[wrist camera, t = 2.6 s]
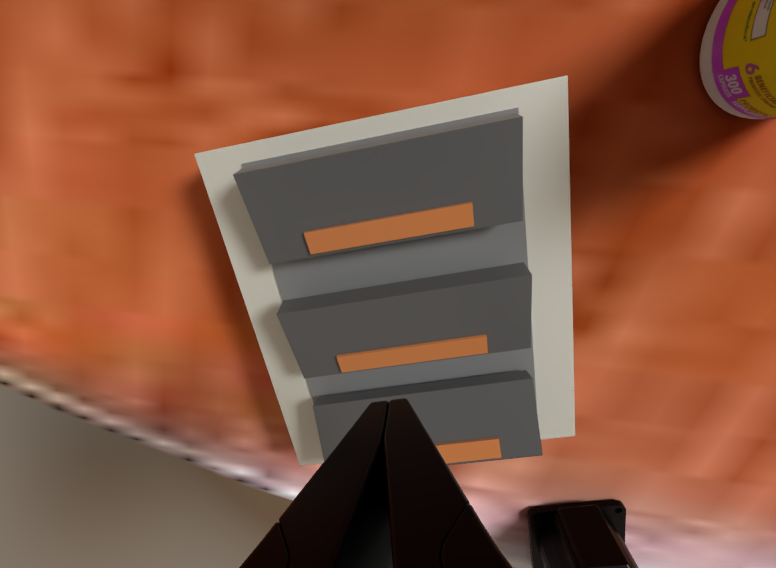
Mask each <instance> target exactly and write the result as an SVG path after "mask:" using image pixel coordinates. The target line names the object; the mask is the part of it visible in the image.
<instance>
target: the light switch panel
mask: <svg viewBox="0 0 776 568" xmlns="http://www.w3.org/2000/svg"><path fill="white" fill-rule="evenodd" d="M511 113H516V114H518V115H520V116H523V221H520V222H514V223H508V224H502V225H496V226H490V227H485V228H479V229H473V230H467V231H461V232H455V233H450V234H444V235H438V236H432V237H426V238H420V239H414V240H409V241H403V242H397V243H391V244H385V245H379V246H374V247H368V248H362V249H356V250H350V251H344V252H339V253H333V254H327V255H321V256H315V257H309V258H304V259H298V260H292V261H286V262H280V263H274V264H269V262H268V259H267V257H266V254H265V252H264V250H263V247H262V245H261V242H260V240H259V237H258V235H257V233H256V230H255V228H254V225H253V223H252V220H251V218H250V215H249V213H248V211H247V208H246V206H245V203H244V201H243V198H242V196H241V194H240V191H239V189H238V186H237V184H236V181H235V179H234V176H233V174H235V173H236V172H238V171H239V170H240V169H242V168H244V167H249V166H254V165H259V164H264V163H269V162H274V161H279V160H284V159H289V158H294V157H299V156H303V155H308V154H313V153H318V152H323V151H328V150H333V149H338V148H343V147H348V146H353V145H358V144H363V143H368V142H373V141H378V140H382V139H387V138H392V137H397V136H402V135H407V134H412V133H417V132H422V131H427V130H432V129H437V128H442V127H447V126H452V125H456V124H461V123H466V122H471V121H476V120H481V119H486V118H491V117H496V116H501V115H506V114H511ZM195 157H196V160H197V163H198V166H199V169H200V172H201V175H202V178H203V181H204V184H205V187H206V190H207V193H208V196H209V199H210V202H211V204H212V207H213V210H214V213H215V216H216V219H217V222H218V225H219V228H220V231H221V234H222V237H223V240H224V243H225V246H226V249H227V252H228V255H229V258H230V260H231V263H232V266H233V269H234V272H235V275H236V278H237V281H238V284H239V287H240V290H241V293H242V296H243V299H244V302H245V305H246V308H247V311H248V313H249V316H250V319H251V322H252V325H253V328H254V331H255V334H256V337H257V340H258V343H259V346H260V349H261V352H262V355H263V358H264V361H265V364H266V366H267V369H268V372H269V375H270V378H271V381H272V384H273V387H274V390H275V393H276V396H277V399H278V402H279V405H280V408H281V411H282V414H283V417H284V419H285V422H286V425H287V428H288V431H289V434H290V437H291V440H292V443H293V446H294V449H295V452H296V455H297V458H298V461H299V464H300V466H301V465H310V464H320V463H324V459H323V454H322V449H321V444H320V439H319V434H318V429H317V425H316V420H315V415H314V410H313V405H314V403H315V402H316V400H317V398H318V397H320V396H328V395H335V394H343V393H351V392H359V391H367V390H374V389H382V388H390V387H398V386H405V385H413V384H421V383H429V382H437V381H444V380H452V379H460V378H468V377H475V376H483V375H491V374H499V373H506V372H514V371H522V370H526V371H527V372H528V373H529V374H530V376H531V377H532V378H533V384H534V392H535V400H536V408H537V416H538V423H539V431H540V439H550V438H559V437H569V436H575V406H574V357H573V308H572V260H571V211H570V162H569V113H568V75H567V76H562V77H557V78H553V79H548V80H543V81H538V82H534V83H529V84H524V85H519V86H515V87H510V88H505V89H500V90H496V91H491V92H486V93H481V94H477V95H472V96H467V97H462V98H458V99H453V100H448V101H443V102H438V103H434V104H429V105H424V106H419V107H415V108H410V109H405V110H400V111H396V112H391V113H386V114H381V115H377V116H372V117H367V118H362V119H358V120H353V121H348V122H343V123H339V124H334V125H329V126H324V127H320V128H315V129H310V130H305V131H300V132H296V133H291V134H286V135H281V136H277V137H272V138H267V139H262V140H258V141H253V142H248V143H243V144H239V145H234V146H229V147H224V148H220V149H215V150H210V151H205V152H201V153H196V154H195ZM521 262H524V263H525V265H526V266H527V268H528V269H529V271H530V272H531V274H532V308H531V348H528V349H520V350H513V351H505V352H498V353H490V354H483V355H476V356H468V357H461V358H453V359H446V360H439V361H431V362H424V363H416V364H409V365H401V366H394V367H387V368H379V369H372V370H364V371H357V372H349V373H342V374H335V375H327V376H320V377H312V378H305V379H304V377H303V374H302V372H301V370H300V368H299V365H298V363H297V361H296V358H295V356H294V354H293V351H292V349H291V347H290V345H289V342H288V340H287V338H286V335H285V333H284V331H283V328H282V326H281V324H280V321H279V319H278V317H277V315H276V314H277V312H278V310H279V308H280V306H281V304H282V301H283V300H289V299H296V298H302V297H308V296H315V295H321V294H327V293H333V292H340V291H346V290H352V289H358V288H365V287H371V286H377V285H383V284H390V283H396V282H402V281H409V280H415V279H421V278H427V277H434V276H440V275H446V274H452V273H459V272H465V271H471V270H478V269H484V268H490V267H496V266H503V265H509V264H515V263H521Z"/></svg>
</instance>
